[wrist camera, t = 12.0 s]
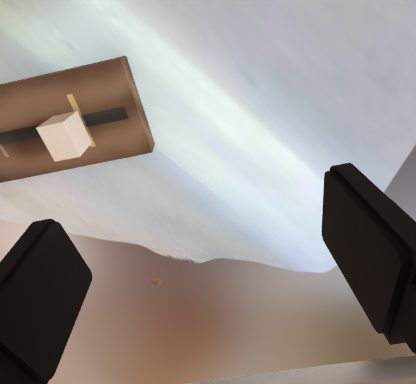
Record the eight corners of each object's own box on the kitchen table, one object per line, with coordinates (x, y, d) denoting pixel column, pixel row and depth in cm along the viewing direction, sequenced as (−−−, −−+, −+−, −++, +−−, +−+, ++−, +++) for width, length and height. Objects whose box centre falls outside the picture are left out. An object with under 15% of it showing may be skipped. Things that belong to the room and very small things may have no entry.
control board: (-50, 95, 35) (-69, 101, 33) (126, 55, 33) (120, 58, 31) (5, 174, 42) (-7, 184, 39) (154, 144, 40) (151, 152, 37)
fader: (62, 109, 33) (35, 127, 28) (85, 104, 33) (62, 122, 28) (76, 139, 36) (54, 161, 30) (98, 135, 35) (80, 156, 30)
